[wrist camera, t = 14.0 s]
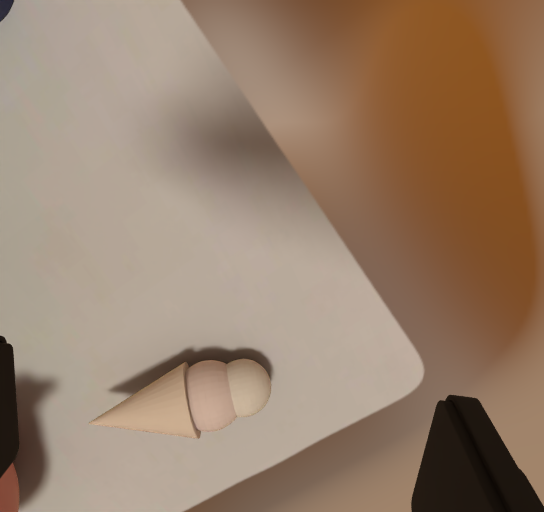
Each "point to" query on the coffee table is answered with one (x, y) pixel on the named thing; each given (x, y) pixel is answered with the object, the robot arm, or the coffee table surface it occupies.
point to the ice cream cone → (194, 399)
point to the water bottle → (4, 7)
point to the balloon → (9, 491)
